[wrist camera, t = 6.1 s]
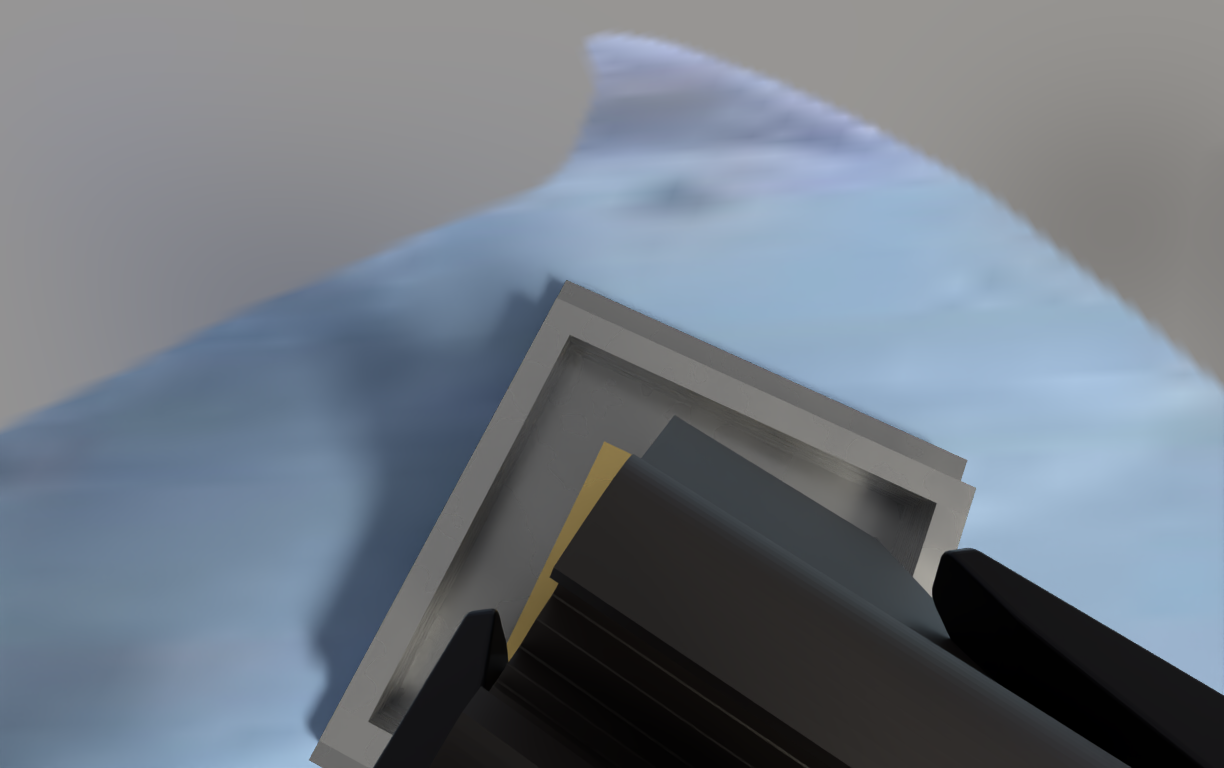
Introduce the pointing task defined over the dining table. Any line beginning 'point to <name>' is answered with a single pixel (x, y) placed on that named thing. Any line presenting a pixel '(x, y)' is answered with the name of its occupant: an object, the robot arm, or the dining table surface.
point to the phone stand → (742, 643)
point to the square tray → (587, 463)
